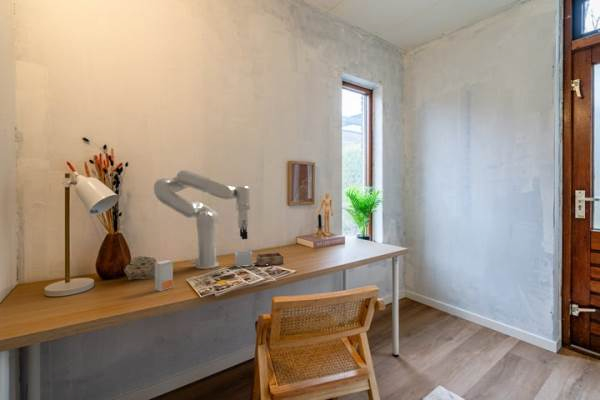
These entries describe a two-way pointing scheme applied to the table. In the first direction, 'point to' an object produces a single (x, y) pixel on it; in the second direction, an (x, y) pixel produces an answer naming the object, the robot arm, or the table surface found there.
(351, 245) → the table surface
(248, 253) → the crate small
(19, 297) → the table surface
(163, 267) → the skincare box
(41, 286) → the table surface
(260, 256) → the crate large
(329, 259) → the table surface
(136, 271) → the rock
